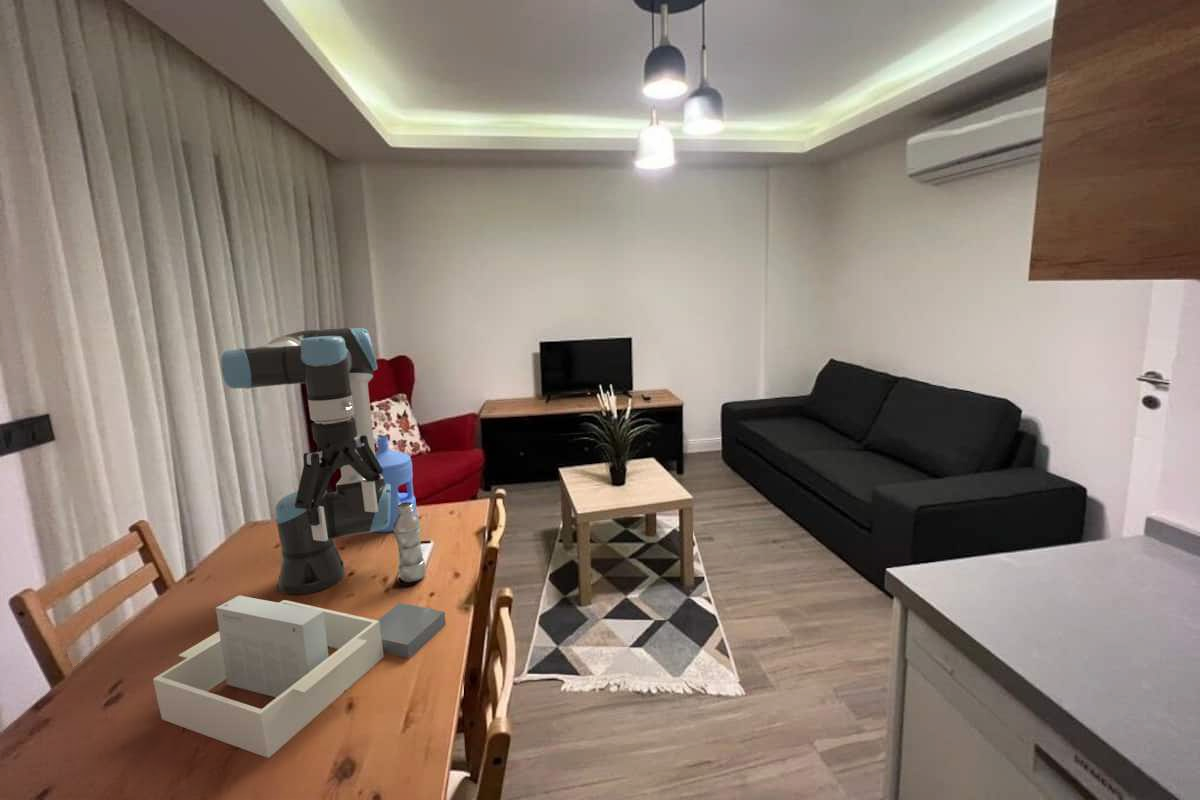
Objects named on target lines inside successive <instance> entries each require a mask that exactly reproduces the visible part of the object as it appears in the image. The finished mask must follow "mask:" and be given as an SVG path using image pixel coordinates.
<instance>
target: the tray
mask: <svg viewBox="0 0 1200 800" xmlns="http://www.w3.org/2000/svg"><path fill="white" fill-rule="evenodd" d="M278 603H282V604H288V605H293V606H298V607H304V608H309V609H314V610H319V611H323V615H324V624H325V632H326V640H327V647H329V648H333V649H337V650H336V651H334V652H333V653H331V654H330V656H329V655H328V656H329V657H328V658H327V659H326V660H324V661H323V662H322V663H320V664H319V665H318V666H317V667H315V668H314V669H313V670H311V671H310V672H309V673H308V674H306V675H305V676H304V677H302V678H301V679H300V680H299V681H297V682H296V683H295V684H293V685H292V686H291V687H290V688H288V689H287V690H286V691H284V692H283V693H282V694H281V695H279V696H278V697H277V698H276V697H274V699H273V700H271V701H270V702H269V703H268V704H266V705H265V706H264V707H263V708H259V707H256V706H252V705H251V704H250V705H249V704H246V703H243V702H241V701H237V700H234V699H231V698H228V697H225V696H222V695H219V694H216V693H212V692H209V691H211V690H212V689H213V688H215V687H216V686H218V685H219V684H221V683H222V682H224V681H226V680H227V679H226V673H225V665H224V658H223V654H222V647H221V640H220V632H219V630H218V631H217V632H215V633H213V634H212V635H210V636H208V637H207V638H205V639H203V640H201V641H200V642H198V643H197V644H195V645H193V646H191V647H190V648H188V649H187V650H185V651H183V652H181V653H179V654H178V657H180V658H183V660H182V661H179V663H177V664H174V665H173V666H172V667H170V668H169V669H167V670H165V671H163V672H162V673H160V674H159V675H157V676H155V677H153V679H152V682H153V686H154V691H155V695H156V700H157V704H158V707H159V708H158V709H159V712H160V716H161V720H162V721H166V722H167V723H171V724H174V725H176V726H179V727H182V728H185V729H187V730H190V731H193V732H196V733H198V734H201V735H204V736H206V737H209V738H212V739H214V740H215V739H216V740H218V741H220V742H223V743H226V744H228V745H231V746H233V747H237V748H240V749H242V750H245V751H248V752H251V753H253V754H256V755H259V756H262V757H264V758H267V759H269V758H271V757H272V756H273V755H274V754H275V753H277V751H279V750H280V748H282V747H283V746H284V745H286V744H287V743H288V742H289V741H290V740H291V739H292V738H294V736H296V735H297V734H298V733H299V732H300V731H301V730H303V729H304V728H305V727H306V726H307V725H308V724H309V723H311V721H313V720H314V719H315V718H317V716H318V715H319V714H321V713H322V712H323V711H324V710H326V709H327V708H328V707H329V706H330V705H331V704H332V703H333V702H335V700H336V699H338V698H339V697H340V696H341V695H343V693H345V692H346V691H347V690H348V689H349V688H350V687H351V686H353V685H354V684H355V683H356V682H357V681H359V679H361V678H362V677H363V676H364V675H365V674H367V672H369V670H371V669H372V668H374V666H375V665H376V664H378V663H379V662H380V661H381V660H382V659H384V657H385V655H384V652H383V647H382V639H381V631H380V623H379V621H377V620H378V619H377V620H376V619H372V618H368V617H362V616H358V615H354V614H350V613H345V612H340V611H336V610H331V609H329V608H328V609H326V608H322V607H318V606H313V605H309V604H304V603H301V602H296V601H291V600H286V599H283V600H281V601H279V602H278ZM353 683H354V684H353ZM345 690H346V691H345ZM344 691H345V692H344Z"/></svg>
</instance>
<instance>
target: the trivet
mask: <svg viewBox="0 0 1200 800" xmlns="http://www.w3.org/2000/svg"><path fill="white" fill-rule="evenodd" d="M377 621H379V623H380V631H381V639H382V647H383V653H386V654H389V655H394V656H399V657H402V658H406V659H410V658H411V657H412V656H413V655H415V653H417V652H418V651H419V650H420V649H421V648H422V647H423V646H424V645H425V644H427V642H429V641H430V640H431V639H432V637H434V636H435V635H436V634H437V633H438V632H439V631H441V629H442V628H443V627H444V626H445V625H446V614H445V611H443V610H439V609H433V608H428V607H423V606H418V605H412V604H408V603H404V602H399V603H398V604H396V605H395V606H394V607H392V608H391V609H389V610H388V611H387V612H386V613H385V614H383V615H382V616H380V617H379V618H378V619H377Z"/></svg>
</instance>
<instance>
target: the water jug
mask: <svg viewBox="0 0 1200 800" xmlns="http://www.w3.org/2000/svg"><path fill="white" fill-rule="evenodd" d="M388 439H389V437H388V436H386V435H385V436H378V437H377V438H376V440H377V449H378V450H377V451H375V456H376V459H377V460H378V462H379V464H380V466H381V468H382V469H383V473H382V474H380V475H381V476H383V477H384V482H385V484H386V483H387V484H390V485H391V506H390V523H389V525H388V527H387V528H385V529H382V530H378V531H373V532H375V533H391V532H394V529H393V525H394V522H395V520H396V518H397V517H398V515H399V514H397V505H398V504H400V503H403V502H411V503H412V504H413V509H414V511H413V513H414V514H415V515H416V516H417V517H418V518H419V516H418V515H419V513H418V510H417V503H416V497H415V495H414V486H413V477H414V475H413V474H414V473H413V462H412V457H411V455H409V454H407V453H404V452H400V451H396V450H394V449H393V450H392V449H390V447H389V441H388ZM405 484H406V491H407V492H399V487H400V486H403V485H405Z"/></svg>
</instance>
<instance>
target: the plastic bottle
mask: <svg viewBox="0 0 1200 800" xmlns="http://www.w3.org/2000/svg"><path fill="white" fill-rule="evenodd" d="M413 511H414V509H413V504H412V503H411V502H403V503H400V504H398V505H397V514H399V515H398V517H397V518H396V520H395V522H394V525H393V529H394V531H393V534H394V536H395V540H396V545H397V550H398V575H399V578H400V580H402V581H403V582H405V583H413V582H416V581H419V580H421V579H423V577H424V576H425V574H426V569H427V568H426V567H427V566H426V563H425V562H426V561H425V559H424V556H423V552H422V547H421V545H422V544H421V520H420V518H419V516H418V517H417V516H416V515H415V514H414V513H413Z"/></svg>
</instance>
